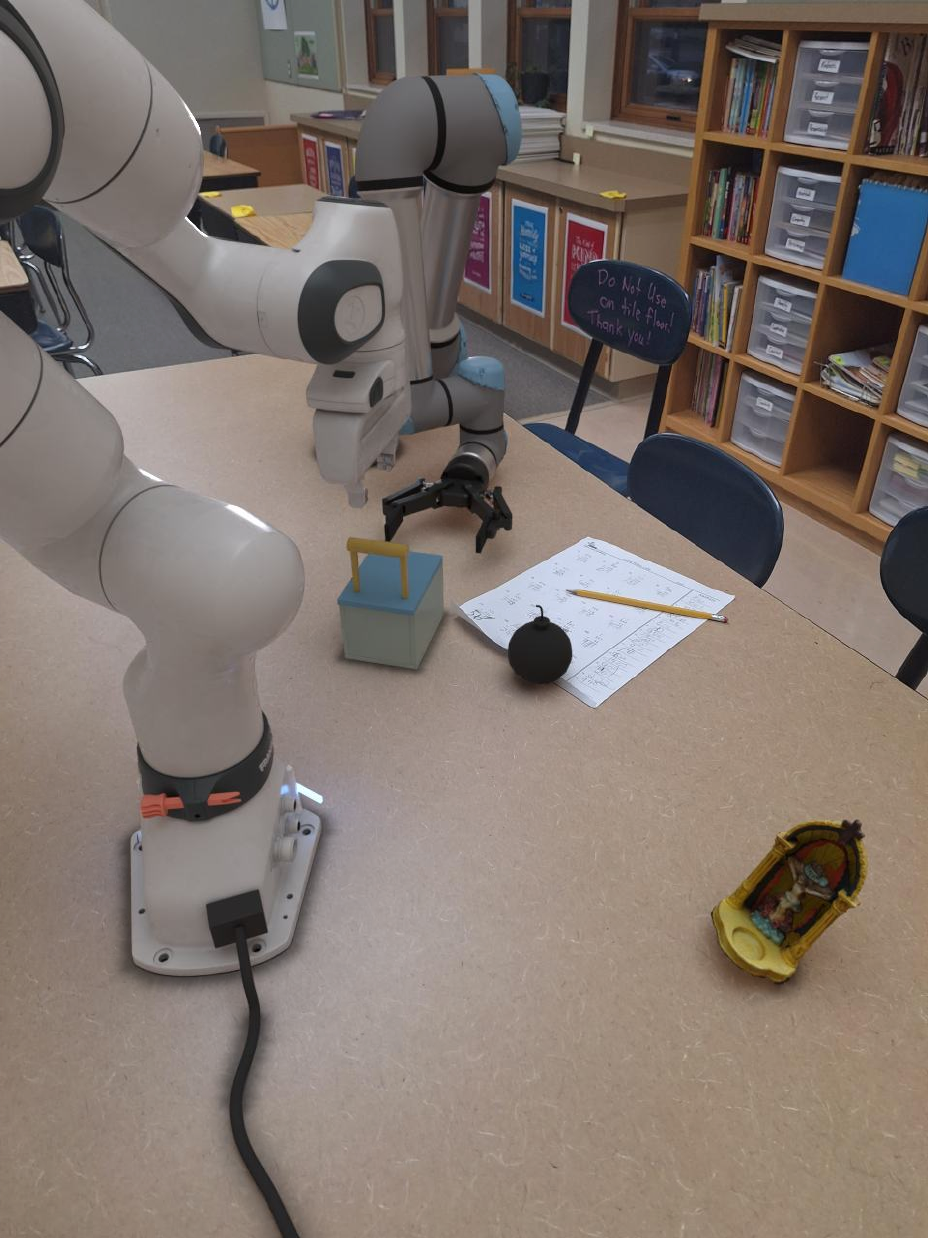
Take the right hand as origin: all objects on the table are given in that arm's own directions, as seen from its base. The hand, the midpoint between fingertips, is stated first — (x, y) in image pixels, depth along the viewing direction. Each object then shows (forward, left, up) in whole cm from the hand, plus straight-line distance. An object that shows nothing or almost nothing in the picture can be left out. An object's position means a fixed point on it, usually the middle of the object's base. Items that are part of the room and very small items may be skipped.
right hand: (432, 539), depth 123 cm
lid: (+14, -7, +2) cm, 16 cm away
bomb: (+26, +9, -6) cm, 28 cm away
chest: (+14, -7, -6) cm, 17 cm away
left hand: (+17, -9, +18) cm, 27 cm away
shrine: (+66, +20, -6) cm, 70 cm away
